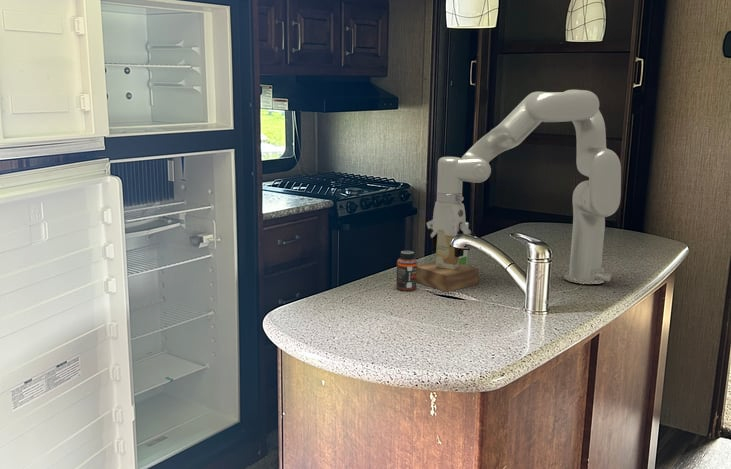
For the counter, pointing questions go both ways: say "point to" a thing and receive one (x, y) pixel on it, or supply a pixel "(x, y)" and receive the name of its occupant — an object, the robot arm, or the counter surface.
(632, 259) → the counter surface
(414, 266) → the supplement bottle
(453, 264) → the skincare box
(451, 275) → the walnut block
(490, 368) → the counter surface
